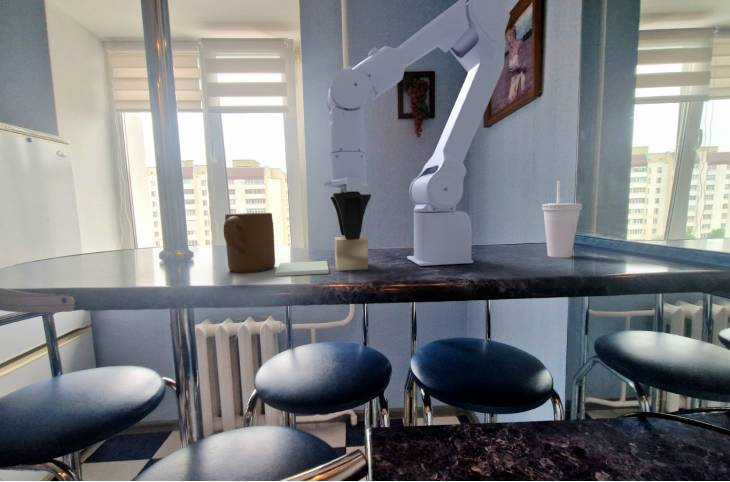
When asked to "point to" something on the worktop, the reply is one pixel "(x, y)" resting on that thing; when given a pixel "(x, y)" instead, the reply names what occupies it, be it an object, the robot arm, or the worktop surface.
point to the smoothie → (560, 226)
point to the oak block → (351, 253)
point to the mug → (249, 242)
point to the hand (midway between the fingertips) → (349, 237)
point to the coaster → (302, 268)
